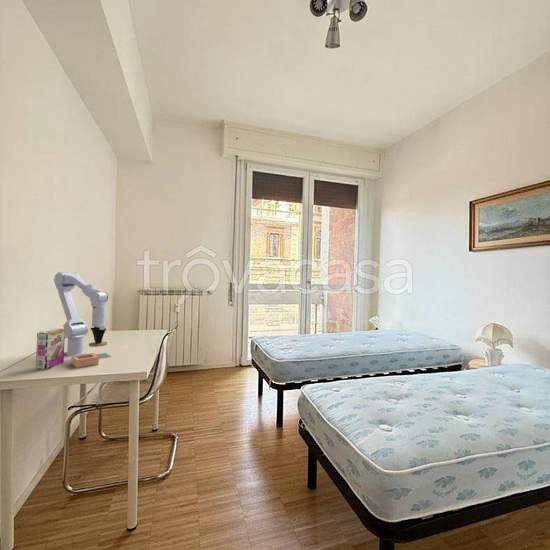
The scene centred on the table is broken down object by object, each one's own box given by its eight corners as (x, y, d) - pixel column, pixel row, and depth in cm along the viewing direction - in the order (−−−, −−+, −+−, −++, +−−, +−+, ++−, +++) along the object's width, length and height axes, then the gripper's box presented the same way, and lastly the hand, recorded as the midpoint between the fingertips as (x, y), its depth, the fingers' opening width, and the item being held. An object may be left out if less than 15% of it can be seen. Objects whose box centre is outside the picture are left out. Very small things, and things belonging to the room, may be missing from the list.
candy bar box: (46, 370, 132) (47, 332, 132) (35, 369, 132) (36, 332, 132) (64, 362, 143) (65, 328, 143) (54, 362, 144) (55, 328, 144)
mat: (84, 356, 154) (84, 356, 154) (105, 353, 161) (105, 352, 161) (89, 361, 147) (89, 360, 147) (111, 357, 154) (111, 356, 154)
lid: (87, 344, 154) (87, 336, 154) (104, 342, 160) (104, 334, 160) (91, 347, 148) (91, 338, 148) (109, 345, 154) (109, 336, 154)
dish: (71, 364, 141) (71, 356, 141) (93, 361, 147) (93, 353, 147) (75, 369, 134) (75, 360, 134) (98, 365, 140) (98, 356, 140)
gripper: (111, 316, 152) (110, 343, 152) (103, 313, 162) (102, 338, 162) (95, 317, 147) (95, 345, 147) (88, 314, 157) (87, 340, 157)
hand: (98, 341), depth 154 cm, fingers closed on lid, 3 cm apart
